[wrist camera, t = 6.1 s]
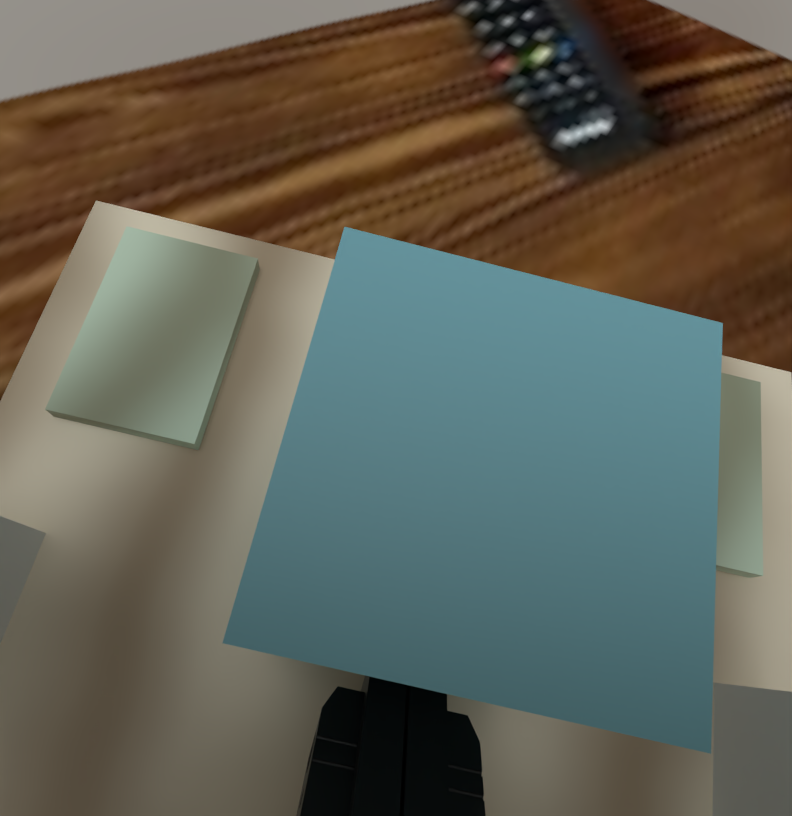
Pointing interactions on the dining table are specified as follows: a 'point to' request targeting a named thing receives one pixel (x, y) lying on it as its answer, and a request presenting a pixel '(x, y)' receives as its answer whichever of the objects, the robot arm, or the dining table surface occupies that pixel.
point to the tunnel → (733, 709)
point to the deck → (231, 540)
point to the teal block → (497, 495)
